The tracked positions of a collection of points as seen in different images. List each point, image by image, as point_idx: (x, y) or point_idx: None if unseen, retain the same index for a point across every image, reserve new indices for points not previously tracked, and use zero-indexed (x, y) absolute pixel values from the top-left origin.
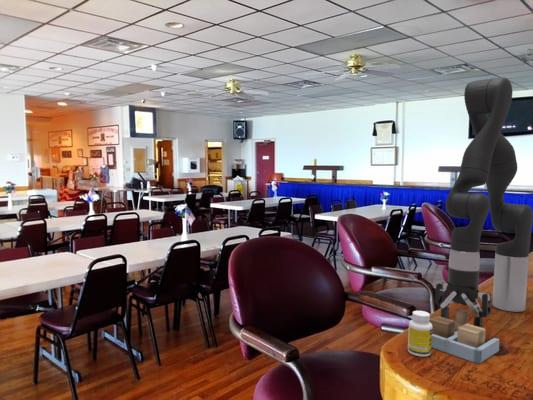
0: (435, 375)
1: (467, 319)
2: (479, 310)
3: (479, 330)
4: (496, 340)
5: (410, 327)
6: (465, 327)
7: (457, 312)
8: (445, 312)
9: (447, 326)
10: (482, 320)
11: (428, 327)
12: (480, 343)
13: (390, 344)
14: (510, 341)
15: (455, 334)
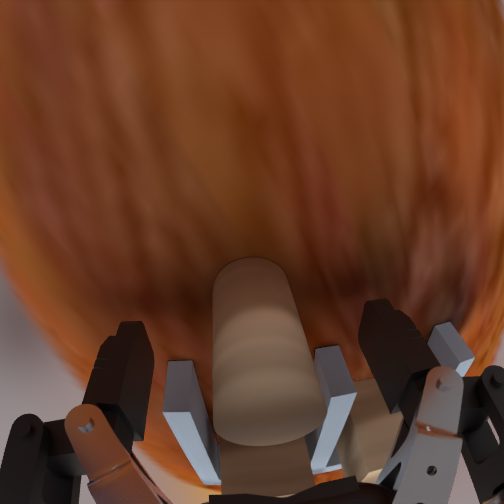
0: (331, 477)
1: (311, 357)
2: (442, 418)
3: None
4: (463, 374)
5: None
6: (372, 482)
7: (253, 442)
8: (144, 416)
9: None
10: (431, 350)
11: None
12: None
13: (177, 475)
14: (485, 177)
15: (318, 448)
